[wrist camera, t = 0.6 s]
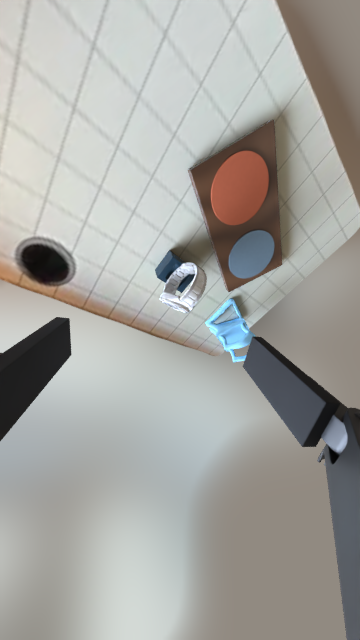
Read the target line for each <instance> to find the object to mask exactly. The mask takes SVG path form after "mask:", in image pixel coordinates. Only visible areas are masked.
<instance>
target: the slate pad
mask: <svg viewBox="0 0 360 640" xmlns="http://www.w3.org/2000/svg"><path fill="white" fill-rule="evenodd" d="M273 253H274V241H273V238H272V236H271V235H270V234H269V233H268V232H266V231H263V230H253V231H250V232H248V233H246V234H245V235H243V236H242V237H241V238H240V239H239V240H238V241H237V242H236V243H235V245H234V246H233V248H232V250H231V252H230V255H229V268H230V271H231V272H232V273H233V274H234V275H235V276H236V277H238V278H244V279H245V278H250V277H253V276H255V275H257V274H259V273H260V272H261V271H262V270H264V268H265V267H266V266H267V265H268V264H269V262H270V260H271V258H272V256H273Z"/></svg>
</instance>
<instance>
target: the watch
mask: <svg viewBox="0 0 360 640" xmlns="http://www.w3.org/2000/svg"><path fill="white" fill-rule="evenodd" d="M155 271H156V275H157V278H159V279H160V280H162V281H164V282H165V283H166V284H165V287H164V289H163V293H162V294H161V298H160V301H162V302H163V303H165V304H166V305H168V306H170V307H172V308H174V309H176V310H179V311H181V312H184V313H188V312H189V311H190V310H191V309H193V308H194V305H195V304H196V303H197V302H198V300H199V299H200V298H201V296H202V294H203V292H204V290H205V286H206V280H207V277H206V274H205V272H204V270H203V269H201V268H200V267H199V266H197V265H196V264H195V263H190V262H188V263H186V262H184V261H183V260H182V259H180V258H179V257H178V256H176V255H175V254H174V253H172V252H171V251H170V250H169V252H168V253H167V254H166V256H165V257H164V259H163V260H162V261H161V263H160V264H159V265H158V267H157V268H156V270H155ZM192 280H193V281H192ZM191 281H192V283H191V285H190V287H189V289H188V290H187V291H186V293H185V294H184V295H183V296H182V297H180V296H177V295H175V293H176V290H178V291H180V292H181V293H182V292H183V291H184V290H185V288H186V287H187V286H188V285H189V284H190V282H191ZM193 291H194V292H193ZM196 293H197V294H196Z"/></svg>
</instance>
